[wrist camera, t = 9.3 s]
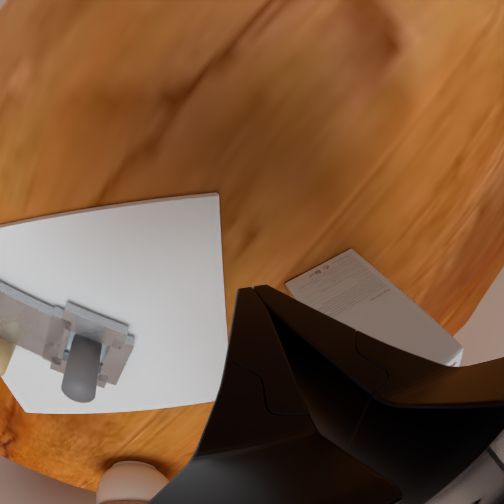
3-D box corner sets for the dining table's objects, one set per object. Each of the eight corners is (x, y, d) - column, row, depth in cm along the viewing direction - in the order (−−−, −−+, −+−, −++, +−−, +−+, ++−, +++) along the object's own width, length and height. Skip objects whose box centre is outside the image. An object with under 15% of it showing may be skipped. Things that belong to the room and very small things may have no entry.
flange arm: (138, 329, 21) (137, 387, 16) (113, 382, 23) (111, 436, 18) (-29, 253, 15) (-67, 294, 10) (-33, 317, 16) (-60, 362, 12)
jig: (230, 391, 28) (245, 440, 23) (27, 406, 23) (17, 450, 18) (217, 192, 20) (237, 222, 15) (-56, 237, 14) (-95, 273, 9)
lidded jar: (187, 462, 32) (201, 524, 24) (155, 488, 35) (164, 540, 26) (107, 444, 28) (109, 514, 19) (87, 473, 30) (88, 529, 22)
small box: (281, 282, 24) (372, 414, 13) (351, 245, 24) (467, 345, 13) (307, 346, 28) (377, 458, 17) (365, 314, 28) (449, 409, 17)
